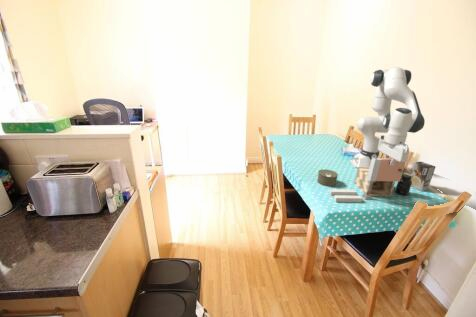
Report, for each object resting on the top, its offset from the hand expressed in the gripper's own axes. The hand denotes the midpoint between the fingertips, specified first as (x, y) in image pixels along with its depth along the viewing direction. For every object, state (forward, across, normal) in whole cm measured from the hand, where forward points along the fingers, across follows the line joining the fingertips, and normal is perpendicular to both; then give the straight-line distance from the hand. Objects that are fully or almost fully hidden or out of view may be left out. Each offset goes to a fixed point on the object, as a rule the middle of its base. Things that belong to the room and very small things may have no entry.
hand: (388, 163), depth 126 cm
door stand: (+22, 0, +20) cm, 30 cm away
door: (+10, 0, 0) cm, 10 cm away
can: (+22, +19, +24) cm, 38 cm away
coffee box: (+22, +14, -33) cm, 42 cm away
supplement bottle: (+22, +6, -17) cm, 28 cm away
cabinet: (+22, +8, +1) cm, 23 cm away
